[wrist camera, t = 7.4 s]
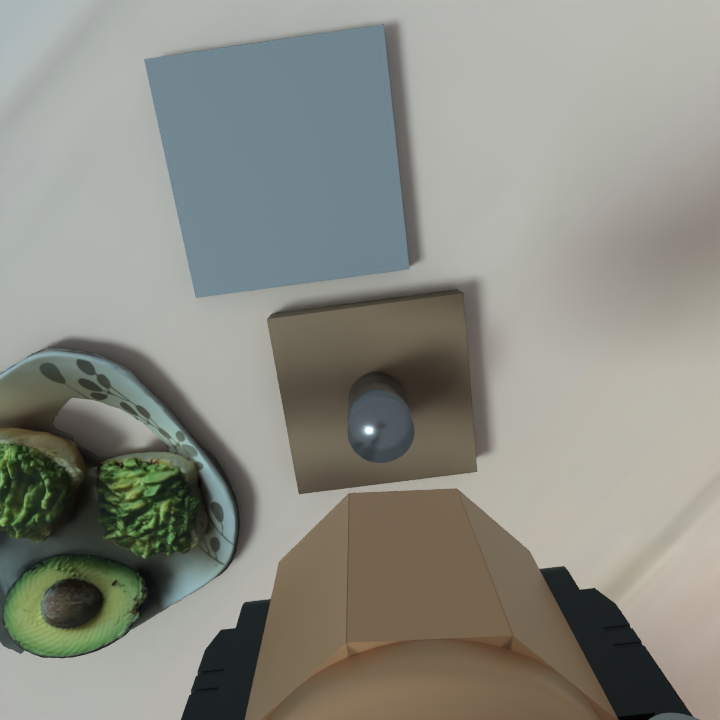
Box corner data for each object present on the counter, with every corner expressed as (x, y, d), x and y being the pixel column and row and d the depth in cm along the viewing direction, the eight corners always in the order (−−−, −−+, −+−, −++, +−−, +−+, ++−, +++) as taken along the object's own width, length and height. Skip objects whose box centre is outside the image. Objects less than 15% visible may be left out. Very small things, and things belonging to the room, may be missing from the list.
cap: (533, 485, 11) (665, 680, 6) (522, 691, 12) (621, 971, 8) (272, 496, 11) (212, 701, 6) (292, 700, 12) (256, 986, 8)
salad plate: (-169, 430, 29) (-262, 467, 25) (72, 260, 27) (16, 268, 22) (57, 660, 34) (12, 727, 29) (281, 530, 31) (269, 582, 27)
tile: (407, 267, 27) (409, 269, 26) (201, 295, 27) (196, 297, 26) (382, 32, 24) (383, 24, 23) (152, 65, 24) (144, 59, 23)
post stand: (471, 459, 30) (499, 516, 24) (301, 481, 30) (289, 542, 24) (457, 289, 27) (485, 307, 21) (271, 314, 27) (249, 338, 22)
